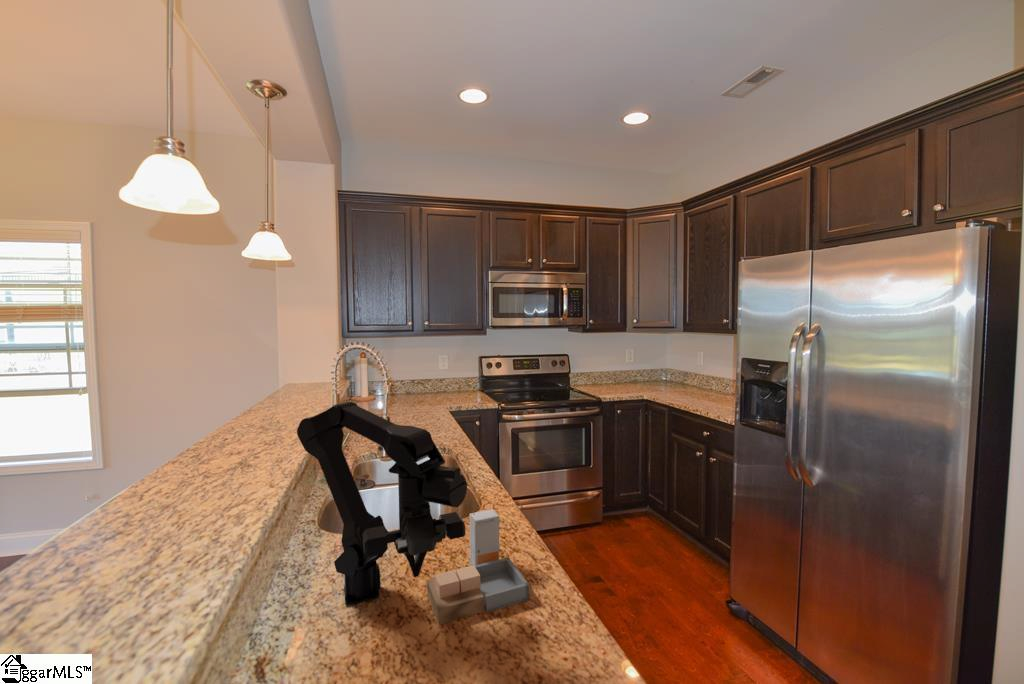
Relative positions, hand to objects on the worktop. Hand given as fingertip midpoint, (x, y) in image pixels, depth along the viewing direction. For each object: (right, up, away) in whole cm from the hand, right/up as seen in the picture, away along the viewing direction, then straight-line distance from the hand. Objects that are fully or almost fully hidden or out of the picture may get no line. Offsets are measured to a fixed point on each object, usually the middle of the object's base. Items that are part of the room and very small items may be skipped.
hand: (415, 575), depth 83 cm
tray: (+16, -7, +7) cm, 19 cm away
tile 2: (+10, -4, +4) cm, 11 cm away
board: (+7, -7, +3) cm, 11 cm away
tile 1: (+6, -4, +2) cm, 8 cm away
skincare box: (+12, -7, +16) cm, 22 cm away
